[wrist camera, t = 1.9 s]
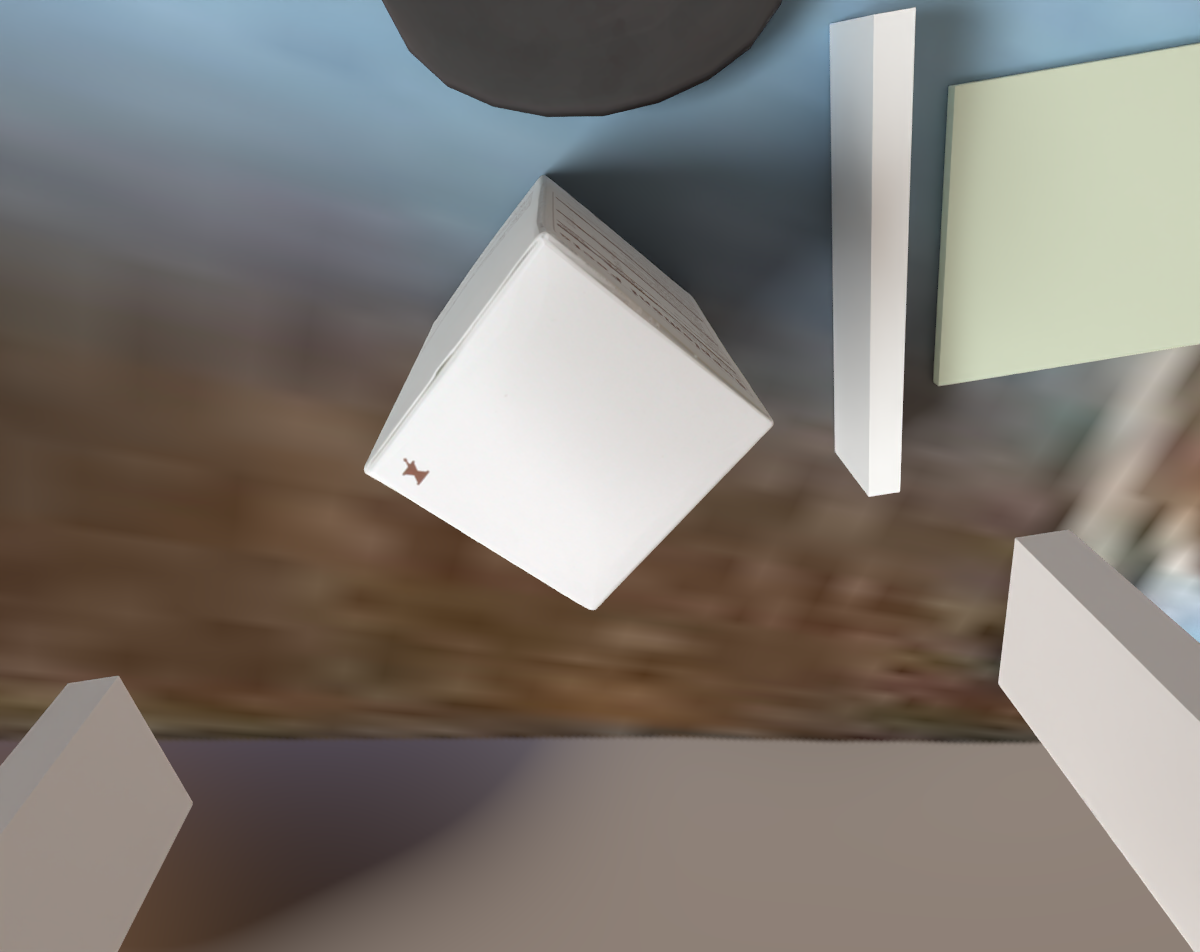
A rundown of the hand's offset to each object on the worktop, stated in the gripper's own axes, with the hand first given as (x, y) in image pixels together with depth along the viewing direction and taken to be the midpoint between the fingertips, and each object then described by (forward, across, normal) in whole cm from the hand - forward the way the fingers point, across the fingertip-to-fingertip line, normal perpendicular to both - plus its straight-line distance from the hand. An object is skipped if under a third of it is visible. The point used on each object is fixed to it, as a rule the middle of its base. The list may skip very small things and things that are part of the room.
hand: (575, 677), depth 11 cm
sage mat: (+20, +20, 0) cm, 28 cm away
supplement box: (+20, 0, 0) cm, 21 cm away
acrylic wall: (+20, +11, 0) cm, 23 cm away
